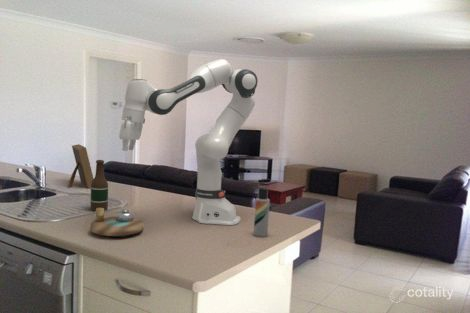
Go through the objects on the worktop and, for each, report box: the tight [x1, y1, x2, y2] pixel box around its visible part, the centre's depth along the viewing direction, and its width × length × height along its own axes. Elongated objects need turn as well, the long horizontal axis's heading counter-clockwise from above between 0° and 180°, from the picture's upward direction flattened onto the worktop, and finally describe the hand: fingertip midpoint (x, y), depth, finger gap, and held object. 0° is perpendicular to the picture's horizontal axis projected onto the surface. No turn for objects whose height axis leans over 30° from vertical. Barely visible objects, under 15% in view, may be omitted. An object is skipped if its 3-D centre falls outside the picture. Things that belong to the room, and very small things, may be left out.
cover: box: [115, 208, 135, 222], centre depth 160 cm, size 7×7×4 cm
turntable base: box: [101, 234, 133, 238], centre depth 155 cm, size 14×14×1 cm
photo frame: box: [67, 143, 94, 189], centre depth 242 cm, size 15×22×25 cm
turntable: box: [90, 208, 145, 237], centre depth 154 cm, size 20×20×7 cm
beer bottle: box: [90, 159, 109, 212], centre depth 186 cm, size 8×8×24 cm
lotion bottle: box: [253, 186, 271, 238], centre depth 160 cm, size 6×6×20 cm
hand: (127, 150), depth 163 cm, fingers open, 8 cm apart
